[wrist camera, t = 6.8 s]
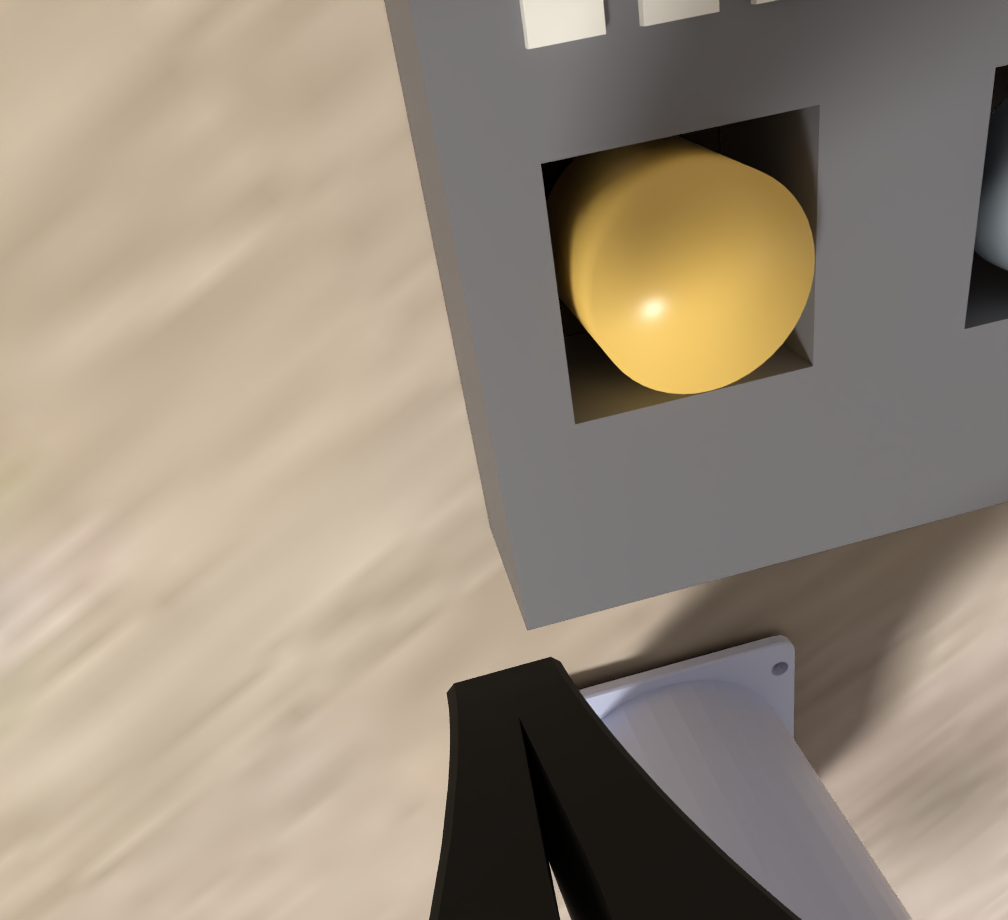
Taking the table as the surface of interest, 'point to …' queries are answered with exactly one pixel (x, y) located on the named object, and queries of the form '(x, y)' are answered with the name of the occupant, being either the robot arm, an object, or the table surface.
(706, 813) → the robot arm
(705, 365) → the button three
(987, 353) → the button panel
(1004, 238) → the button two
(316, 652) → the table surface
